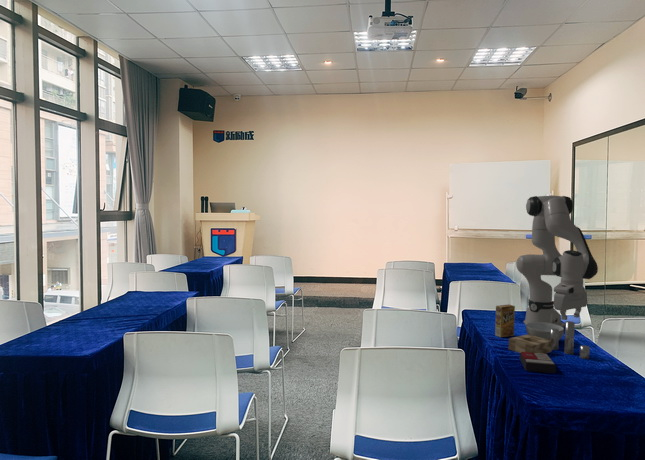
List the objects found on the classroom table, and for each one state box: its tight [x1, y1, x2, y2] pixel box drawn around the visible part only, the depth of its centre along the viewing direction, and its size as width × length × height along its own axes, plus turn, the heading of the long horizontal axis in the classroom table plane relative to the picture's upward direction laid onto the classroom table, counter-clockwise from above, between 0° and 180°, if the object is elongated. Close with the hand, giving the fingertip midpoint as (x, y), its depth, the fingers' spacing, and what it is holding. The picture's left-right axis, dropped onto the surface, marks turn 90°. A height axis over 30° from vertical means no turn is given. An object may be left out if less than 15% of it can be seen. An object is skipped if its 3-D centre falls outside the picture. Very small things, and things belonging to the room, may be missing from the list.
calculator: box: [519, 352, 557, 374], centre depth 191 cm, size 11×4×15 cm
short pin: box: [579, 344, 591, 360], centre depth 201 cm, size 4×4×5 cm
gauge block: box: [507, 333, 553, 354], centre depth 210 cm, size 14×12×5 cm
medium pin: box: [550, 328, 560, 351], centre depth 213 cm, size 4×4×9 cm
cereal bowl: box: [525, 322, 565, 341], centre depth 225 cm, size 17×17×7 cm
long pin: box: [563, 320, 576, 355], centre depth 207 cm, size 4×4×14 cm
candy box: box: [494, 304, 516, 338], centre depth 233 cm, size 9×4×15 cm, turn 113°
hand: (570, 318), depth 206 cm, fingers open, 8 cm apart
